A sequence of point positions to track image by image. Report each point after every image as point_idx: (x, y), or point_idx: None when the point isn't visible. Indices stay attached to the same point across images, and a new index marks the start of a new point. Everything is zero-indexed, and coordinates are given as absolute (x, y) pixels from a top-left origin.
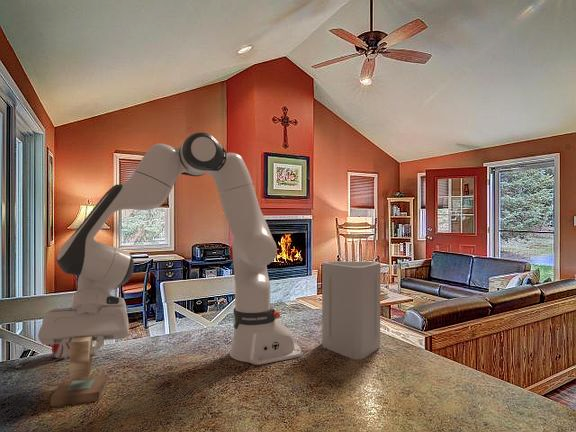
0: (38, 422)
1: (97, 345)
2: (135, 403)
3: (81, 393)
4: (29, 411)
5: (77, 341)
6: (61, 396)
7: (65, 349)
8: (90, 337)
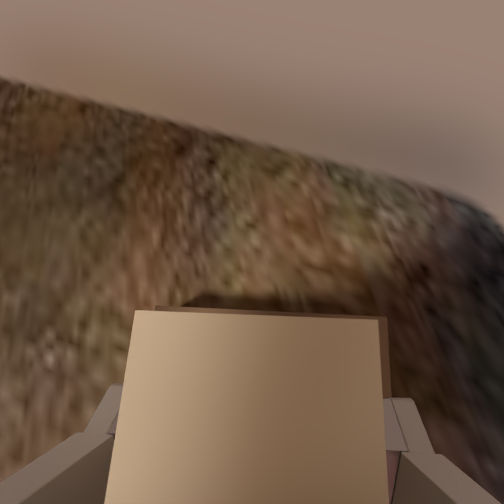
0: (372, 201)
1: (71, 443)
2: (20, 239)
3: (240, 313)
4: (454, 305)
5: (279, 328)
6: (334, 314)
7: (432, 450)
8: (116, 482)
